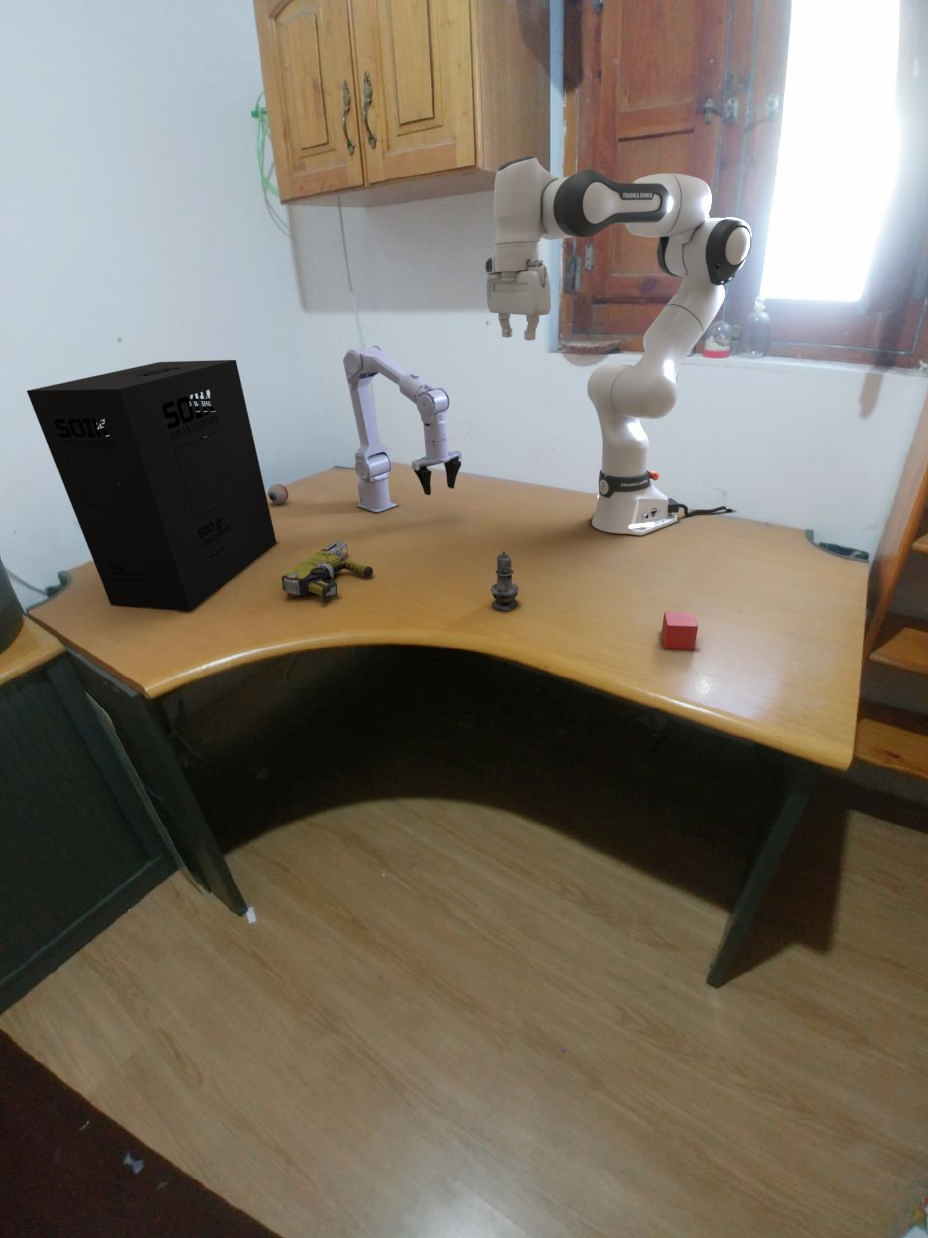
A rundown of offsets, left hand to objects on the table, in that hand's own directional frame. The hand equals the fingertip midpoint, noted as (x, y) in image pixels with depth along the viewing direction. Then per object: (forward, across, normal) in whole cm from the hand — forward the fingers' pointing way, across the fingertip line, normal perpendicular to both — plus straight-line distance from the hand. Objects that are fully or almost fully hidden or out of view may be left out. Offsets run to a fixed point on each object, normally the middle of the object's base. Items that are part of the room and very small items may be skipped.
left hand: (439, 490), depth 162 cm
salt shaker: (+9, -17, -47) cm, 51 cm away
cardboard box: (+10, -61, +15) cm, 64 cm away
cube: (+9, -2, -79) cm, 79 cm away
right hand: (-38, +4, -28) cm, 47 cm away
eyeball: (+10, -27, +50) cm, 58 cm away
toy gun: (+9, -37, -12) cm, 40 cm away
